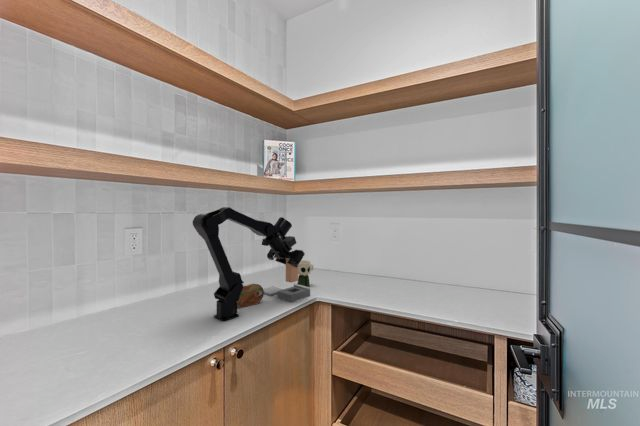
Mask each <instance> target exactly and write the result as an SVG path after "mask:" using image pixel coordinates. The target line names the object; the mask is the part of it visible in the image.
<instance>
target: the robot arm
mask: <svg viewBox="0 0 640 426" xmlns="http://www.w3.org/2000/svg"><path fill="white" fill-rule="evenodd" d="M227 220H228V221H230V222H232V223H235V224H238V225H240V226H242V227H244V228H247V229H249V230H250V231H251V232H252V233H254V234H255V235H257V236H259V237H265V238H262V241H261V245H262V246H266V247H268V246H269V247H270V249H269V251H268V252H267V254H266V257H267V259H268V260H269V261H274V259H275V262H277V263H280V264H283V265H285V266H286V258H287V259H289V261H288V264H290V265H292V266H294V267H296V268H297V267H298V264H299V263H300V261H301V260H303V258H304V257H305V252H304V250H302V249H294V250H293V248H292V247H293V246H294V245H296V244H297V241H296V237H295V236H290V235H289V236H287V234H288V232H290V230H291V228H292V226H293V225H292V223H291V221H288V220H287V219H285V218H284V217H282V216H281V217H279V218H278V220H277V221H276V222H275V223H274V224H273V223H271V222H268V221H264V220H263V221H262V220H257V219H255V218H253V217H250V216H248V215H246V214H244V213H241V212H240V211H237V210H235V209H233V208H232V207H230V206H225V207H224V206H223V207H220V208H219V209H216V210H213V211H210V212H208V213H200V214H197V215H195V217H193V219H192V226H193V229H195V231H196V232H197V234H198V235H199V236H200V237H201V238H202V239H203V240H204V242H205V244H206V247H207V249H208V251H209V254H210V256H211V258H212V261H213V264H214V265H215V268H216V270H217V273H218V284H219V287H218V288H216V290H215V291H214V293H213V297H214V299H215V300H216V314H214V316H213V317H214V318H216V319H218V320H220V321H222V322H225V321H228V320H232V319H234V318H237V317H239V315H240V314H239V313H238V308H237V302H236V301H238V300H239V297H240V294H241V292H242V289H243V286H244V283H245V281H243V279H242V275H241V274H240V273H239V272H236V271H233V270H232V267H231V264H230V261H229V260H228V256H227V254H226V252H225V249H224V247H223V244H222V243H221V239H220V238H219V237H220V236H219V235H220V233H219V231H220V226H219V225H221V224H223V223H224V222H225V221H227Z"/></svg>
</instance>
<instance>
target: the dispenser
mask: <svg viewBox="0 0 640 426" xmlns="http://www.w3.org/2000/svg"><path fill="white" fill-rule="evenodd" d="M282 289H283V290H280V291H277V294H276V295H277V296H276V297H277V299H280V300H284V301H287V302H290V303H293V302H295V301H299V300H301V299H304V298H307V297H310V296H311V289H310V286H308V287H307V286H302V285H298V283H294V284H293V286H290V287H287V288H282Z"/></svg>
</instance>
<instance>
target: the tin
mask: <svg viewBox="0 0 640 426" xmlns="http://www.w3.org/2000/svg"><path fill="white" fill-rule="evenodd" d="M263 289H264V288H263V287H262V285H260V284H258V283H249V284H243V289H242V292H241V294H240V297H239V300H238V301H236V302H237V309H241V308H245V307H249V306H253V305H254V306H255V305H257V304H259V303H260V302H261V301H262V300H263V298H264V295H265V294H264V290H263Z"/></svg>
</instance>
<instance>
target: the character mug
mask: <svg viewBox="0 0 640 426" xmlns="http://www.w3.org/2000/svg"><path fill="white" fill-rule="evenodd" d="M313 270H314V264H313V263H311V261H310V260H303V259H302V260H301V261H300V263H299V264H298V281H297V284H298V285H302V286H306V287H310V276H309V275H310V274H311V272H312V271H313Z"/></svg>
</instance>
